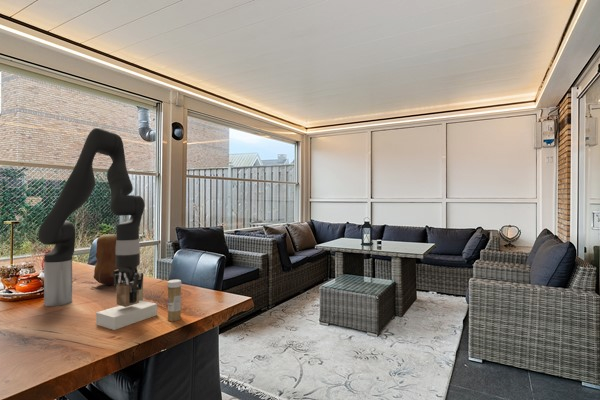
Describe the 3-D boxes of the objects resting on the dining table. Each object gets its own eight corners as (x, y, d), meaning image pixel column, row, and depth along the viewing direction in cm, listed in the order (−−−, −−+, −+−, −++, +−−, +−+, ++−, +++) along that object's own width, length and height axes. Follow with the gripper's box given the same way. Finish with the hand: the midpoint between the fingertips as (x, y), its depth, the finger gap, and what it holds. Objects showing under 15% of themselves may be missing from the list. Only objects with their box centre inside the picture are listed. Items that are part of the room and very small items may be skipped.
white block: (96, 324, 111) (96, 312, 111) (139, 310, 125) (139, 299, 125) (114, 330, 106) (114, 317, 106) (157, 314, 120) (157, 303, 120)
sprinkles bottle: (164, 319, 116) (164, 280, 116) (177, 316, 119) (177, 278, 119) (171, 322, 112) (171, 282, 113) (183, 319, 116) (183, 280, 116)
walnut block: (116, 304, 115) (116, 284, 115) (130, 300, 119) (130, 281, 119) (125, 306, 112) (125, 286, 112) (139, 302, 117) (139, 283, 117)
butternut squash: (121, 279, 174) (120, 232, 174) (130, 284, 164) (130, 233, 164) (90, 284, 164) (90, 234, 164) (98, 289, 154) (98, 236, 154)
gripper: (150, 252, 115) (150, 301, 115) (125, 249, 122) (125, 295, 122) (130, 255, 109) (130, 307, 109) (104, 252, 116) (104, 301, 116)
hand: (127, 301), depth 116 cm, fingers closed on walnut block, 5 cm apart
